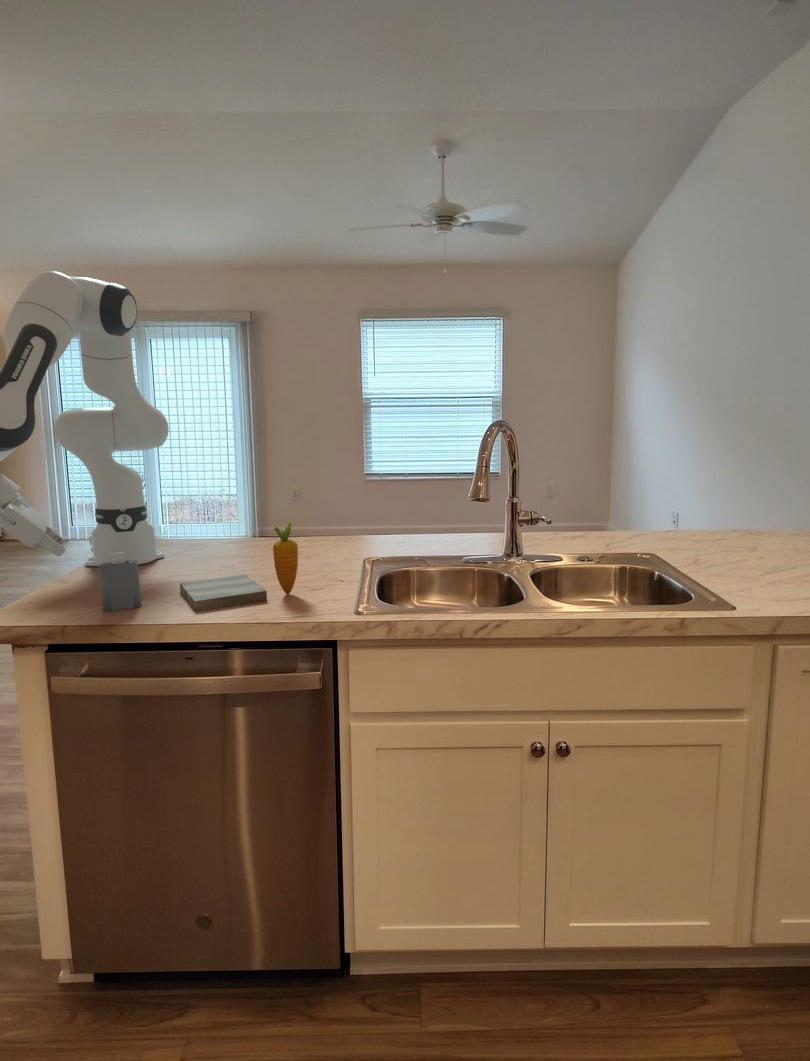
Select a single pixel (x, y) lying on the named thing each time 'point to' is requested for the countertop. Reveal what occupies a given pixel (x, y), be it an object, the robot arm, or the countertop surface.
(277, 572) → the carrot
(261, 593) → the striped sage slab
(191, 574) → the countertop surface
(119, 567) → the block
